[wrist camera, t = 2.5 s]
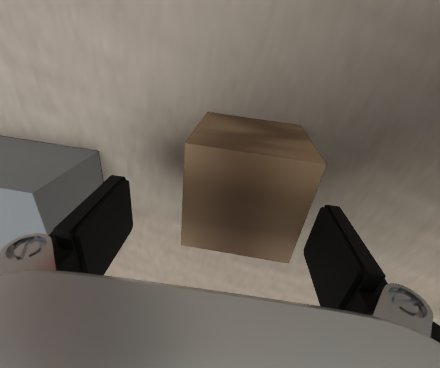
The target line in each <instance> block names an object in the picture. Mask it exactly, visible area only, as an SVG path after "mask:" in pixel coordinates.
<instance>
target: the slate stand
mask: <svg viewBox="0 0 440 368" xmlns="http://www.w3.org/2000/svg"><path fill="white" fill-rule="evenodd" d="M102 183H103V177H102V171H101V165H100V159H99V153H98V151H94V150H88V149H81V148H75V147H68V146H62V145H56V144H49V143H43V142H36V141H30V140H24V139H17V138H11V137H4V136H0V252H1V250H2V249H3V248H4V246H5V245H7V244H8V243H9V242H11V241H13V240H15V239H17V238H19V237H21V236H24V235H28V234H34V233H42V234H46V235H49V234H50V233H51V232H52V231H53V229H54V228H55V227H56V226H57V225H58V224H59V223H60V222H61V221H62V220H63V219H64V218H65V217H67V216H68V215H69V214H70V213H71V212H72V211H73V210H74V209H75V208H76V207H77V206H78V205H80V204H81V203H82V202H83V201H84V200H85V199H86V198H87V197H88V196H89V195H90V194H92V193H93V192H94V191H95V190H96V189H97V188H98V187H99V186H100V185H101V184H102Z"/></svg>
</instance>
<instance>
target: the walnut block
mask: <svg viewBox="0 0 440 368" xmlns="http://www.w3.org/2000/svg"><path fill="white" fill-rule="evenodd" d="M326 166H327V164H326V163H325V161H324V160H323V158H322V157H321V155H320V154H319V152H318V151H317V149H316V148H315V146H314V145H313V143H312V142H311V140H310V139H309V137H308V136H307V134H306V133H305V131H304V130H303V128H302V127H301V126H300V125H293V124H286V123H280V122H273V121H266V120H259V119H252V118H245V117H238V116H231V115H225V114H218V113H211V112H207V114H206V115H205V116H204V118H203V119H202V120H201V122H200V123H199V125H198V126H197V127H196V129H195V130H194V131H193V133H192V134H191V135H190V137H189V138H188V139H187V141H186V142H185V150H184V176H183V203H182V230H181V245H185V246H191V247H196V248H202V249H208V250H214V251H220V252H225V253H231V254H237V255H243V256H248V257H254V258H260V259H266V260H271V261H277V262H283V263H289V261H290V259H291V256H292V253H293V251H294V248H295V246H296V243H297V240H298V238H299V235H300V233H301V230H302V228H303V225H304V222H305V220H306V217H307V215H308V212H309V209H310V207H311V204H312V202H313V199H314V197H315V194H316V191H317V189H318V186H319V184H320V181H321V179H322V176H323V173H324V171H325V168H326Z"/></svg>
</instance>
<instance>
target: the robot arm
mask: <svg viewBox="0 0 440 368" xmlns="http://www.w3.org/2000/svg"><path fill="white" fill-rule="evenodd" d="M132 227H133V219H132V208H131V198H130V187H129V181H128V180H126V179H125V177H122V176H115V175H111V176H110V177H109V178H108V179H107V180H106V181H105V182H103V183H102V184H101V185H100V186H99V187H98V188H97V189H96V190H95V191H94V192H93V193H92V194H90V195H89V196H88V197H87V198H86V199H85V200H84V201H83V202H82V203H81V204H80V205H78V206H77V207H76V208H75V209H74V210H73V211H72V212H71V213H70V214H69V215H68V216H67V217H65V218H64V219H63V220H62V221H61V222H60V223H59V224H58V225H57V226H56V227H55V228H54V229H53V231H52V232H51V233H50V234H49V235H46V234H42V233H34V234H28V235H24V236H21V237H19V238H17V239H15V240H13V241H11V242H9V243H8V244H7V245H5V246H4V248H3V249H2V250H1V252H0V368H440V326H439V325H438V324H436V323H435V322H433V313H432V310H431V308H430V306H429V305H428V304H427V303H426V302H425V300H424V299H423V298H421V297H420V296H419V295H418V294H417V293H415V292H414V291H412V290H411V289H409V288H407V287H405V286H402V285H399V284H394V283H390V284H388V283H387V282H386V280H385V279H384V278H385V274H384V273H383V271H382V270H381V268H380V267H379V265H378V264H377V262H376V261H375V259H374V258H373V256H372V255H371V253H370V252H369V250H368V249H367V247H366V246H365V244H364V243H363V241H362V240H361V238H360V237H359V235H358V234H357V232H356V231H355V229H354V228H353V226H352V225H351V223H350V222H349V220H348V219H347V217H346V216H345V214H344V213H343V211H342V210H341V208H340V207H338V206H331V205H325V206H324V207H322V208H320V210H319V213H318V215H317V218H316V220H315V223H314V225H313V228H312V230H311V233H310V235H309V238H308V240H307V242H306V245H305V248H304V256H305V260H306V263H307V266H308V269H309V272H310V275H311V278H312V281H313V284H314V287H315V291H316V294H317V297H318V300H319V303H320V306H315V305H309V304H302V303H295V302H289V301H282V300H275V299H269V298H262V297H255V296H248V295H241V294H235V293H228V292H221V291H214V290H207V289H200V288H193V287H186V286H179V285H171V284H164V283H157V282H149V281H142V280H135V279H128V278H120V277H112V276H104V274H105V272H106V270H107V269H108V267H109V266H110V264H111V262H112V261H113V259H114V258H115V256H116V254H117V253H118V251H119V250H120V248H121V246H122V245H123V243H124V242H125V240H126V238H127V237H128V235H129V234H130V232H131V230H132Z"/></svg>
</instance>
